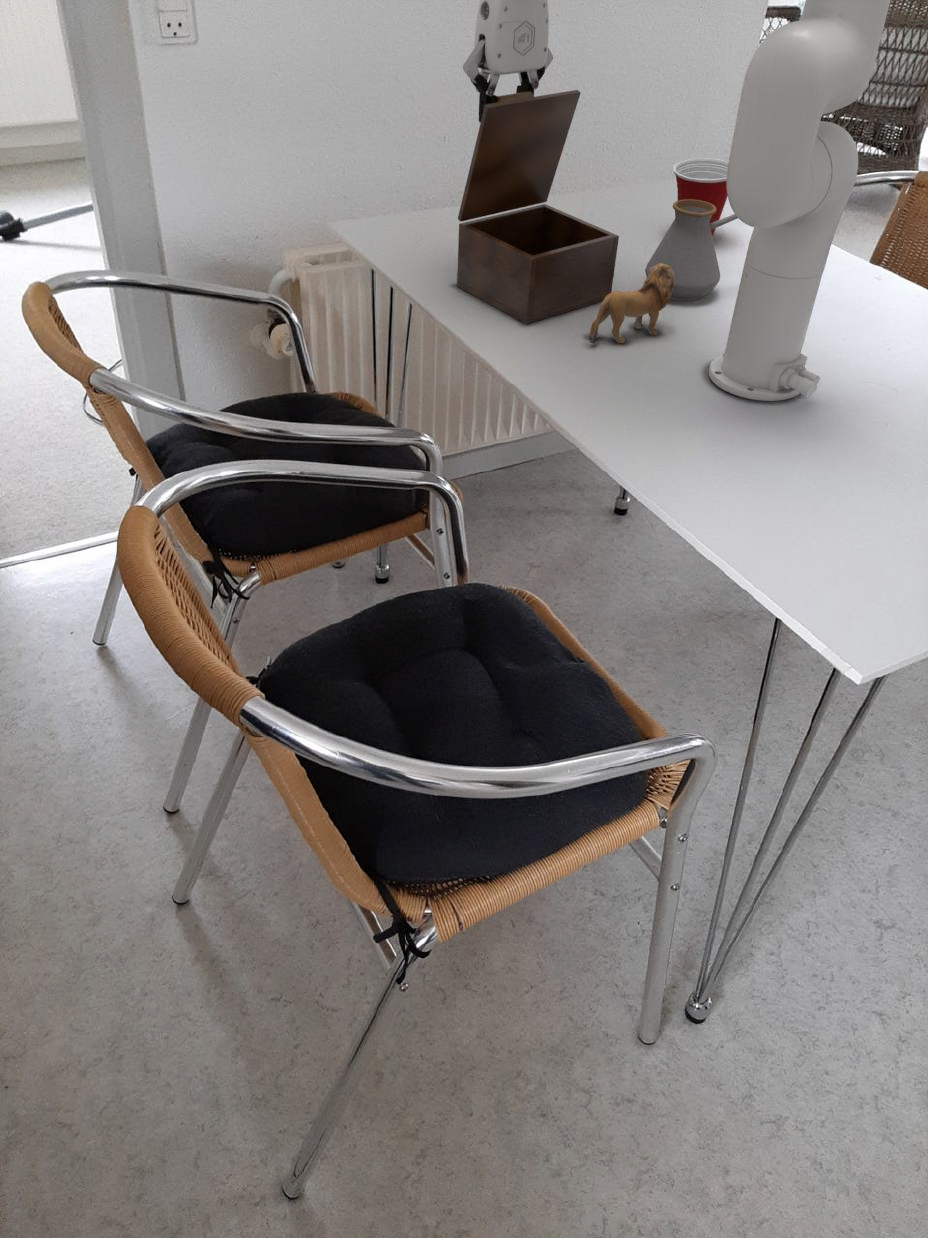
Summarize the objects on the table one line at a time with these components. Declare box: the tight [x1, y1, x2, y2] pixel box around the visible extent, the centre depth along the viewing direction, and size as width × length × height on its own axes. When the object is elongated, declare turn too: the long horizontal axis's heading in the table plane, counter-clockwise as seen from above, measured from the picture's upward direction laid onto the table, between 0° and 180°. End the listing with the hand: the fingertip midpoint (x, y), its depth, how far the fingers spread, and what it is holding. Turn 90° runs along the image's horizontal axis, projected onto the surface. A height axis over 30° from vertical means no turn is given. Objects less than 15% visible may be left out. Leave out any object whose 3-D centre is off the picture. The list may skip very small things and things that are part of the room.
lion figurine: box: [588, 263, 675, 344], centre depth 140 cm, size 15×5×9 cm, turn 129°
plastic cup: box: [673, 157, 729, 237], centre depth 170 cm, size 11×11×12 cm
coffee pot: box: [644, 199, 739, 302], centre depth 152 cm, size 21×12×15 cm, turn 98°
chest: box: [456, 203, 620, 325], centre depth 151 cm, size 16×17×10 cm
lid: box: [457, 89, 581, 223], centre depth 146 cm, size 17×17×5 cm
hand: (505, 119), depth 144 cm, fingers closed on lid, 6 cm apart
